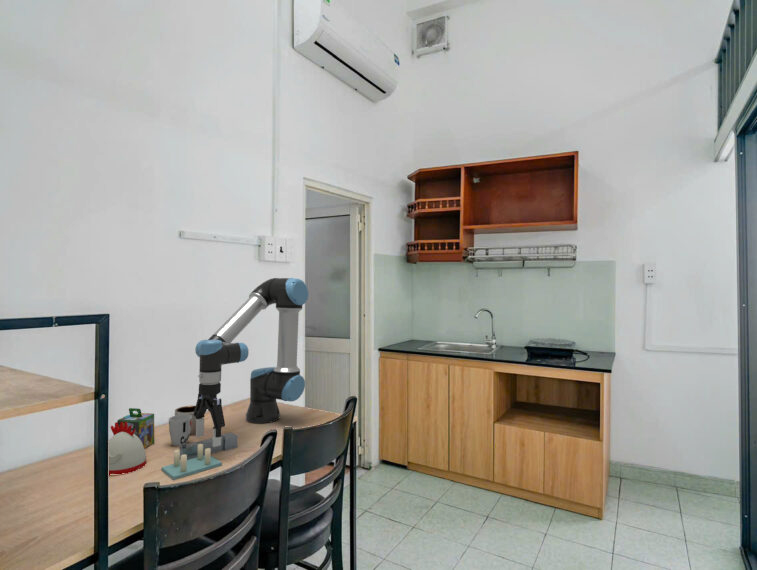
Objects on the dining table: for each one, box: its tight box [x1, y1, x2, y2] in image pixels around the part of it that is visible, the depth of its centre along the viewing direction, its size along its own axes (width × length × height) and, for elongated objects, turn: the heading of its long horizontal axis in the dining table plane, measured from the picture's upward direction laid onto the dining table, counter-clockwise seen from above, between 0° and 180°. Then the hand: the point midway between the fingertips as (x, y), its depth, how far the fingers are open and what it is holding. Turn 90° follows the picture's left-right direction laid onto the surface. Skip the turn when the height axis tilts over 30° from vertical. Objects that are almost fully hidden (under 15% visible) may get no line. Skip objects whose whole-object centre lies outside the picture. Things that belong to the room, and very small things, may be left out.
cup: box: [168, 415, 192, 447], centre depth 169 cm, size 8×8×10 cm
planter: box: [174, 405, 196, 437], centre depth 182 cm, size 11×11×10 cm
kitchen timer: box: [108, 421, 147, 476], centre depth 147 cm, size 14×14×15 cm
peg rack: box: [161, 444, 223, 481], centre depth 147 cm, size 16×10×6 cm, turn 136°
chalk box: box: [116, 407, 155, 449], centre depth 165 cm, size 9×9×15 cm
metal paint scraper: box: [179, 432, 239, 461], centre depth 161 cm, size 20×5×6 cm, turn 136°
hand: (208, 441), depth 160 cm, fingers open, 13 cm apart
